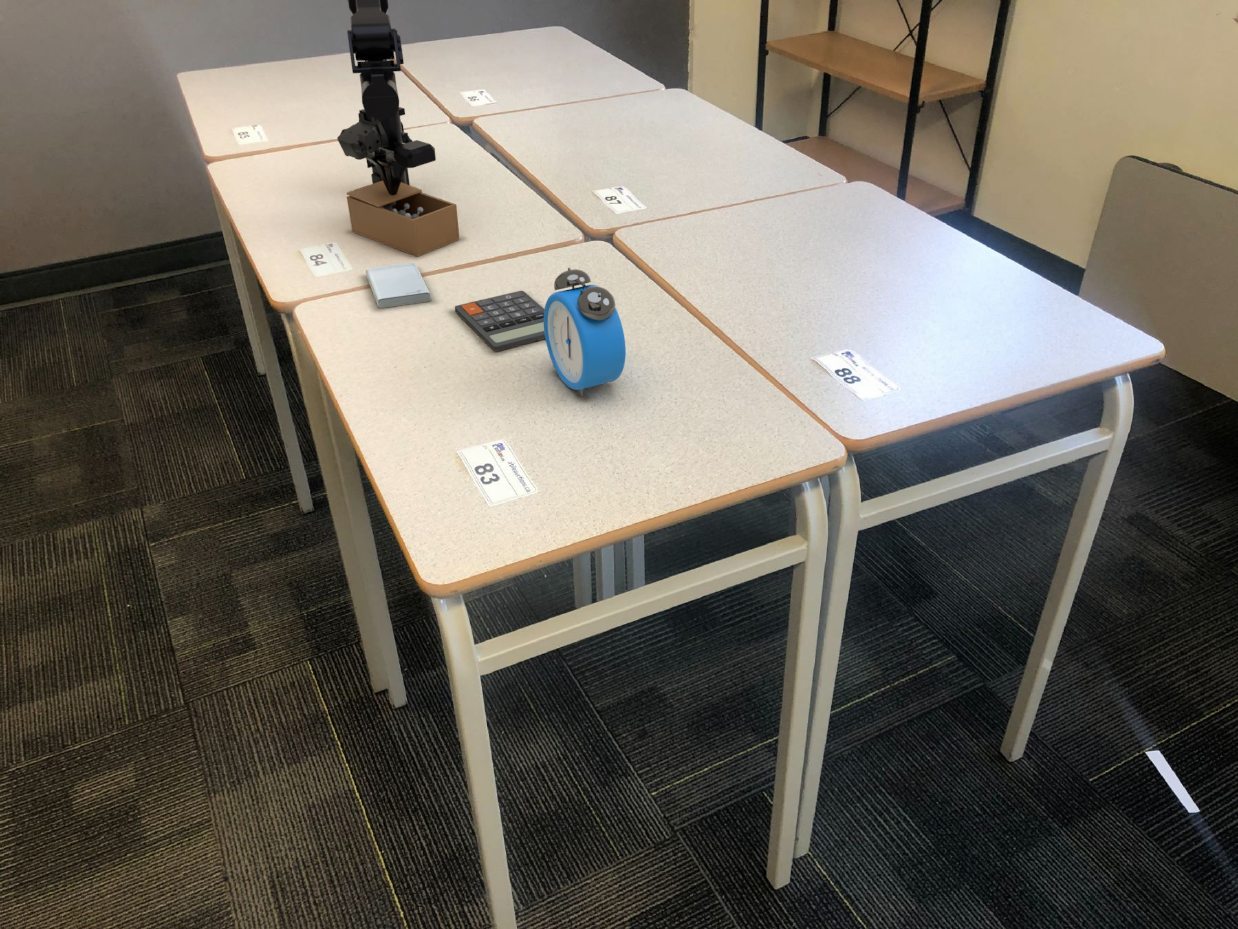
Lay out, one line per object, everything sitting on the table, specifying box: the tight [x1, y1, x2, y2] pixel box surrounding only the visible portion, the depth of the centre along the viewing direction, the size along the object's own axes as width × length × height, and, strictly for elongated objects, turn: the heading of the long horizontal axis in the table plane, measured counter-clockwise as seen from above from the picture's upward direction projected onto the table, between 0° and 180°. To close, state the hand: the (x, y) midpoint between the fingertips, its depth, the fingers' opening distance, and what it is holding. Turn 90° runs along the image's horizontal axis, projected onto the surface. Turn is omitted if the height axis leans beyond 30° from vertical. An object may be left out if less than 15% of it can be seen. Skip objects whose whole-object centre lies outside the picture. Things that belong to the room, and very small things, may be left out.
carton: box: [346, 192, 461, 258], centre depth 169 cm, size 18×10×6 cm, turn 51°
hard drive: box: [365, 262, 432, 309], centre depth 152 cm, size 2×8×12 cm
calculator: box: [454, 290, 546, 352], centre depth 143 cm, size 12×1×15 cm
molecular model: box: [380, 201, 423, 219], centre depth 169 cm, size 14×4×5 cm, turn 49°
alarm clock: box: [544, 267, 627, 397], centre depth 125 cm, size 13×6×15 cm, turn 29°
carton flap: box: [346, 181, 423, 207], centre depth 169 cm, size 9×10×1 cm
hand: (393, 194), depth 168 cm, fingers closed, pressing on carton flap
